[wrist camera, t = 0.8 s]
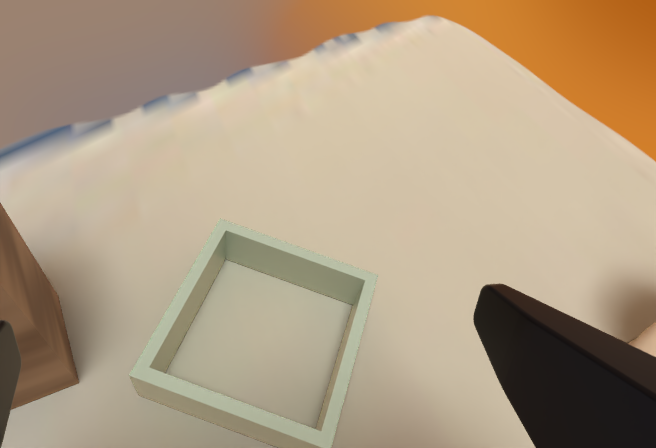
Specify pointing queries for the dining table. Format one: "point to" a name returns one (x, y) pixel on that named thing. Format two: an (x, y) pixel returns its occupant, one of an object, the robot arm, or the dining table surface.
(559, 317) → the robot arm
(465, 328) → the dining table surface
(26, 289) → the walnut block
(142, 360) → the green holder
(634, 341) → the cup with straw
